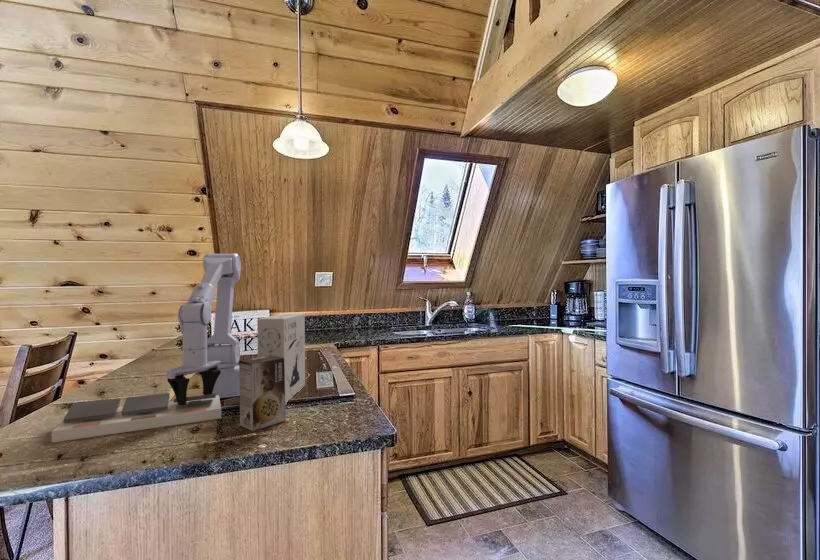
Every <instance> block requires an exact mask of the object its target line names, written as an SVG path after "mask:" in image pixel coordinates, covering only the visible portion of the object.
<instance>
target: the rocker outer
mask: <svg viewBox="0 0 820 560" xmlns="http://www.w3.org/2000/svg"><path fill="white" fill-rule="evenodd" d="M120 404H121V398H111V399H110V398H109V399H103V400H93V401H84V402H75V403H72V404H71V406H70V408H69V409H68V410H67V412H66V414H65V416H64V417H63V419H62V421H63V422H64V423H70V422H78V421H86V420H94V419H102V418H109V417H115V414H116V412H117V409H118V407H120Z"/></svg>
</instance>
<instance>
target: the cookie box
mask: <svg viewBox="0 0 820 560" xmlns="http://www.w3.org/2000/svg"><path fill="white" fill-rule="evenodd" d="M238 363H239V364H238V365H239V375H240V396H239V426H240V427H243V428H245V429H247V430H250V431H252V432H254V431H257V430H260V429H264V428H266V427H270V426H273V425H277V424H279V423H283V422H285V421H286V418H287V417H286V405H285V368H284V358H282V357H279V356H274V355H269V356H263V357H258V356H257V357H252V358H247V359H239V362H238Z"/></svg>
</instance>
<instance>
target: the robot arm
mask: <svg viewBox="0 0 820 560" xmlns="http://www.w3.org/2000/svg"><path fill="white" fill-rule="evenodd" d="M202 267H203V271H204V273H203V276H202V279H201V283H198V284H196V285H195V286H194V288H193V290H192V292H191V294H190V296H189V298H188V300H187V301H186V302H185V303H183V304H182V305H180V306H179V309H178V313H177V319H178V322H179V329H180V332H181V333H182V365H181V366H178V367H174V368H171V369H167V370H166V371H165V372H166V376H165V377H166V380H167V383H168V384H169V385H170V387H171V388H172V391H173V393H174V395H175V398H176V399H177V403H178V405H186V399H187V397H188V395H187V393H188V385H189V383H190V378H188V377H187V378H186V376H189V375H192V374H193V375H194V374H196V373H200V377H201V380H202V392H203V393H202V395H209V394H214V393H215V394H216V395H219V398H220V399H224V398H232V397H238V396H239V397H240V375H239V364H238V363H239V361H240V360H241V359H240V358H241V348H240V341H239V339H238V338H236V337H235V336H233V335H232V334H231V333H232V318H233V317H232V316H233V306H234V305H233V304H234V293H235V291H234V289H235V285H236V283H237V282H239V281H240V278H241V274H242V273H241V271H242V261H241V257H240V255H239V254H238V253H236V252H234V253H209V252H208V253H206V254H205V255H204V256H203V258H202ZM216 287H217V288H216ZM215 298H216V302H215V312H214V313H215V314H214V326H213V335H211V336H209V337H208V325H209V323H210V321H211V318H212V310H213V307H212V305H213V302H214V300H215Z"/></svg>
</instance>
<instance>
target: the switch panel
mask: <svg viewBox="0 0 820 560" xmlns="http://www.w3.org/2000/svg"><path fill="white" fill-rule="evenodd" d="M220 399H221V398H219V395H216V398H209V399H201V400H193V401H186V405H178V403H174V400H169V404H168V410H163V411H155V412H147V413H140V414H132V415H124V416H122V414H121V412H122V409H123V406H119V407H118V409H117V412H116V414H115V417H109V418H102V419H94V420H86V421H78V422H70V423H64V422H63V420H62V421H61V422H60V423H59V424H58V425H56V427H54V428H53V429H52V431H51V443H59V442H67V441H72V440H79V439H80V440H81V439H87V438H93V437H94V438H95V437H101V436H108V435H115V434H121V433H127V432H128V433H130V432H136V431H144V430H149V429H156V428H163V427H171V426H177V425H184V424H190V423H198V422H205V421H206V422H207V421H212V420H218V419H222V406H221V405H222V403H221V400H220Z"/></svg>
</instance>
